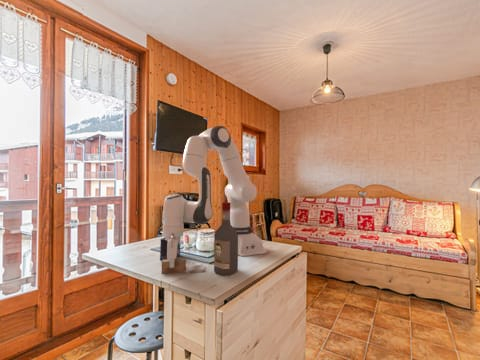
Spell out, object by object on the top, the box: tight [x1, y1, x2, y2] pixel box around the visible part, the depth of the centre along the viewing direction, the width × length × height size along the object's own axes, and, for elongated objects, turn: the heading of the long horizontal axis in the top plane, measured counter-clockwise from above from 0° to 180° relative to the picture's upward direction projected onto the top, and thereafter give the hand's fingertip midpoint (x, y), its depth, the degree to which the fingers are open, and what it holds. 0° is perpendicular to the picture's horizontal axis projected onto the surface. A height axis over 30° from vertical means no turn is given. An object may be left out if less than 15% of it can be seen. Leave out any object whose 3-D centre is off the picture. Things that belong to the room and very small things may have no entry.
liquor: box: [213, 201, 239, 277], centre depth 107 cm, size 9×9×30 cm
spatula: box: [161, 257, 206, 275], centre depth 108 cm, size 18×6×5 cm, turn 104°
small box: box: [159, 236, 182, 261], centre depth 126 cm, size 11×6×10 cm, turn 168°
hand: (172, 263), depth 107 cm, fingers open, 8 cm apart
